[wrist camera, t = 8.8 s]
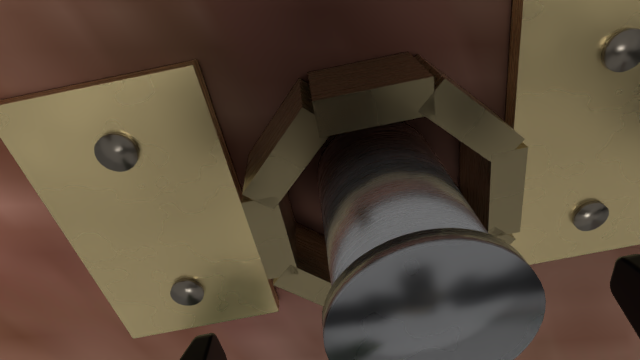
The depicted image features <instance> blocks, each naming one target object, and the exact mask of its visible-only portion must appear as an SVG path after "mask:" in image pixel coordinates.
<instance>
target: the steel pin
mask: <svg viewBox="0 0 640 360" xmlns="http://www.w3.org/2000/svg"><path fill="white" fill-rule="evenodd" d="M317 180H318V188H319V196H320V203H321V211H322V219H323V226H324V234H325V241H326V249H327V257H328V264H329V272H330V280H331V289H330V290H329V292H328V294H327V297H326V299H325V302H324V306H323V311H322V327H323V338H324V345H325V351H326V353H327V356H328V358H329V360H514V359H515V358H516V357H517V356H518V355H519V354H520V353H521V352H522V351H523V350H524V349H525V348H526V347H527V346H528V345H529V343H530V342H531V341H532V340H533V338H534V336H535V335H536V333H537V332H538V330H539V328H540V325H541V323H542V321H543V317H544V313H545V303H546V300H545V293H544V289H543V287H542V284H541V282H540V280H539V279H538V277H537V275H536V274H535V272H534V271H533V270H532V268H531V267H530V266H529V264H528V263H527V262H526V260H525V259H524V258H523V256H522V255H521V254H520V253H519V252H518V251H517V250H516V249H515V248H514V247H513V246H511V245H510V244H508V243H507V242H506V241H504V240H502V239H500V238H498V237H496V236H494V235H491V234H489V233H488V232H487V230H486V229H485V228H484V226H483V225H482V223H481V222H480V220H479V219H478V217H477V216H476V214H475V213H474V211H473V210H472V208H471V207H470V205H469V204H468V202H467V201H466V200H465V198H464V197H463V195H462V194H461V192H460V191H459V189H458V188H457V186H456V185H455V183H454V182H453V180H452V179H451V177H450V176H449V174H448V173H447V172H446V170H445V169H444V167H443V166H442V164H441V163H440V161H439V160H438V158H437V157H436V155H435V154H434V152H433V151H432V149H431V148H430V146H429V145H428V144H427V142H426V141H425V139H424V138H423V137H422V136H421V135H420V133H418V132H417V131H416V130H415V129H413V128H412V127H410V126H408V125H406V124H403V123H401V122H395V123H390V124H385V125H380V126H375V127H370V128H365V129H360V130H355V131H350V132H345V133H340V134H339V135H338V136H336V137H335V138H334V139H333V140H332V141H331V142H330V144H329V145H328V146H327V148H326V149H325V151H324V152H323V154H322V156H321V159H320V162H319V165H318V171H317Z"/></svg>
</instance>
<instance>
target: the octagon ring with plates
mask: <svg viewBox="0 0 640 360" xmlns="http://www.w3.org/2000/svg"><path fill="white" fill-rule="evenodd" d="M307 73H308V79H309V84H308V83H306V82H305V81H303V80H302V79H300V78H299V79H298V81H297V82H296V84H295V85H294V87H293V88H292V90H291V91H290V93H289V94H288V96H287V97H286V99H285V100H284V102H283V103H282V105H281V106H280V108H279V109H278V111H277V112H276V114H275V115H274V117H273V118H272V120H271V121H270V123H269V124H268V126H267V127H266V129H265V130H264V132H263V133H262V135H261V136H260V138H259V139H258V141H257V142H256V144H255V145H254V147H253V148H252V150H251V151H250V153H249V156H248V162H247V168H246V174H245V180H244V186H243V192H242V190H241V187H240V184H239V181H238V179H237V176H236V173H235V170H234V167H233V164H232V161H231V158H230V155H229V152H228V149H227V146H226V143H225V140H224V137H223V135H222V132H221V129H220V126H219V123H218V120H217V117H216V114H215V111H214V108H213V105H212V102H211V99H210V96H209V93H208V91H207V88H206V85H205V82H204V79H203V76H202V73H201V70H200V67H199V64H198V61H197V59H196V60H191V61H187V62H182V63H177V64H172V65H167V66H162V67H158V68H153V69H148V70H143V71H138V72H133V73H129V74H124V75H119V76H114V77H109V78H105V79H100V80H95V81H90V82H85V83H80V84H76V85H71V86H66V87H61V88H56V89H51V90H47V91H42V92H37V93H32V94H27V95H22V96H18V97H13V98H8V99H3V100H0V138H1V139H2V141H3V142H4V144H5V145H6V147H7V148H8V150H9V151H10V153H11V154H12V156H13V157H14V159H15V160H16V162H17V163H18V165H19V167H20V168H21V170H22V171H23V173H24V174H25V176H26V177H27V179H28V180H29V182H30V183H31V185H32V186H33V188H34V189H35V191H36V192H37V194H38V195H39V197H40V198H41V200H42V201H43V203H44V204H45V206H46V207H47V209H48V210H49V212H50V213H51V215H52V216H53V218H54V220H55V221H56V223H57V224H58V226H59V227H60V229H61V230H62V232H63V233H64V235H65V236H66V238H67V239H68V241H69V242H70V244H71V245H72V247H73V248H74V250H75V251H76V253H77V254H78V256H79V257H80V259H81V260H82V262H83V263H84V265H85V266H86V268H87V269H88V271H89V273H90V274H91V276H92V277H93V279H94V280H95V282H96V283H97V285H98V286H99V288H100V289H101V291H102V292H103V294H104V295H105V297H106V298H107V300H108V301H109V303H110V304H111V306H112V307H113V309H114V310H115V312H116V313H117V315H118V316H119V318H120V319H121V321H122V322H123V324H124V326H125V327H126V329H127V330H128V332H129V333H130V335H131V336H132V338H139V337H144V336H149V335H155V334H160V333H166V332H171V331H176V330H182V329H187V328H192V327H198V326H203V325H209V324H214V323H219V322H225V321H230V320H235V319H241V318H246V317H252V316H257V315H262V314H268V313H273V312H278V311H279V299H278V296H277V293H276V290H275V287H274V286H277V287H279V288H281V289H284V290H286V291H288V292H291V293H293V294H296V295H298V296H300V297H303V298H305V299H307V300H310V301H312V302H314V303H317V304H319V305H321V306H324V302H325V299H326V297H327V294H328V292H329V290H330V289H331V280H330V272H329V264H328V257H327V249H326V241H325V236H323V235H321V234H319V233H317V232H315V231H313V230H311V229H309V228H307V227H305V226H303V225H301V224H299V223H297V222H295V219H294V215H293V211H292V208H291V204H290V200H289V197H288V193H287V192H288V190H289V189H290V188H291V186H292V185H293V184H294V182H295V181H296V180H297V178H298V177H299V176H300V174H301V173H302V171H303V170H304V169H305V167H306V166H307V165H308V163H309V162H310V161H311V159H312V158H313V157H314V155H315V154H316V153H317V151H318V150H319V149H320V147H321V146H322V145H323V143H324V142H325V141H326V139H327V138H328V137H329V136H330V135H335V134H340V133H345V132H350V131H355V130H360V129H365V128H370V127H375V126H380V125H385V124H390V123H395V122H400V121H405V120H410V119H415V118H420V117H427V118H428V119H430V120H431V121H432V122H434V123H435V124H437V125H438V126H440V127H441V128H443V129H444V130H445V131H447V132H448V133H450V134H451V135H453V136H454V137H455V138H457V139H458V140H460V190H459V191H460V192H461V194H462V195H463V197H464V198H465V200H466V201H467V202H468V204H469V205H470V207H471V208H472V210H473V211H474V213H475V214H476V216H477V217H478V219H479V220H480V222H481V223H482V225H483V226H484V228H485V229H486V230H487V232H488V233H489V234H491V235H494V236H496V237H498V238H500V239H502V240H504V241H506V242H507V243H508V244H510V245H511V246H513V247H514V248H515V249H516V250H517V251H518V252H519V253H520V254H521V255H522V256H523V258H524V259H525V260H526V262H527V263H528V264H529V265H531V264H536V263H542V262H547V261H553V260H558V259H563V258H569V257H574V256H579V255H585V254H590V253H596V252H601V251H606V250H612V249H617V248H622V247H628V246H633V245H639V244H640V0H512V17H511V33H510V49H509V66H508V82H507V98H506V115H505V122H504V121H503V120H502V119H501V118H500V117H499V116H497V115H496V114H495V113H494V112H493V111H492V110H490V109H489V108H488V107H487V106H486V105H484V104H483V103H482V102H480V101H479V100H478V99H476V98H475V97H474V96H472V95H471V94H470V93H468V92H467V91H466V90H465V89H463V88H462V87H461V86H459V85H458V84H457V83H455V82H454V81H453V80H451V79H450V78H449V77H447V76H446V75H445V74H443V73H442V72H441V71H440V70H438V69H437V68H436V67H434V66H433V65H432V64H430V63H429V62H428V61H426V60H425V59H424V58H422V57H421V56H420V55H418V54H417V55H416V56H415V58H414V57H413V56H412V55H411V54H410V53H409V52H405V53H400V54H395V55H390V56H385V57H381V58H376V59H371V60H366V61H361V62H356V63H351V64H346V65H341V66H337V67H332V68H327V69H322V70H317V71H312V72H307ZM272 279H273V281H272Z"/></svg>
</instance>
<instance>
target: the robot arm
mask: <svg viewBox="0 0 640 360" xmlns="http://www.w3.org/2000/svg"><path fill="white" fill-rule="evenodd" d="M610 288H611V292H612V294H613V296H614V297H615V299H616V301H617V302H618V304H619V306H620V307H621V309H622V310H623V312H624V314H625V315H626V317H627V319H628V320H629V322H630V324H631V325H632V327H633V328H634V330H635V332H636V333H637V335H638V337H639V338H640V255H639V254H633V255H628V256H622V257H619V258H618V259H617V260H616V262H615V266H614V269H613V273H612V277H611V281H610ZM180 360H227V358H226V355H225V352H224V350H223V348H222V346H221V344H220V342H219V340H218V338H217V336H216V335H215V334H214V333H209V334H204V335H199V336H197V337H195V338H194V339H193V341H192V342H191V344H190V345H189V347H188V348H187V350H186V351H185V352H184V354H183V355H182V357H181V358H180Z"/></svg>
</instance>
